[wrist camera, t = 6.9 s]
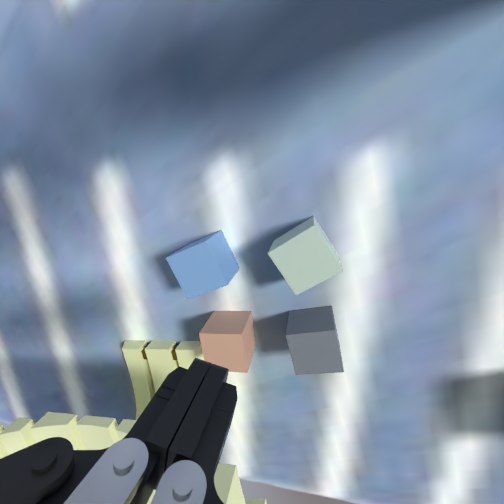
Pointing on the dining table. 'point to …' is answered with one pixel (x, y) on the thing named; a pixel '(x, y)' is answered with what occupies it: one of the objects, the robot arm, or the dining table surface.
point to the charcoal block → (313, 341)
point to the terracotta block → (229, 340)
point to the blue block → (203, 265)
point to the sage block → (305, 256)
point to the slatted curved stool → (107, 430)
